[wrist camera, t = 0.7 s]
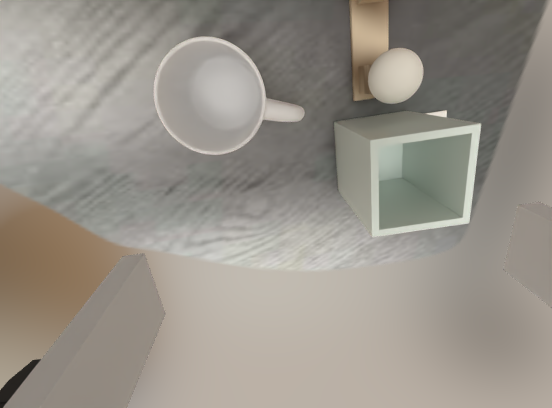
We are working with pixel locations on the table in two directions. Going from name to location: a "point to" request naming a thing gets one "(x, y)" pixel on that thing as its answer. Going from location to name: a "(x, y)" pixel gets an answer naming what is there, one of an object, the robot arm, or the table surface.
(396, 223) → the grey-green tall hollow box
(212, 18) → the table surface
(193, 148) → the mug
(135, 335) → the robot arm
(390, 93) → the ball
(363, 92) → the rack
